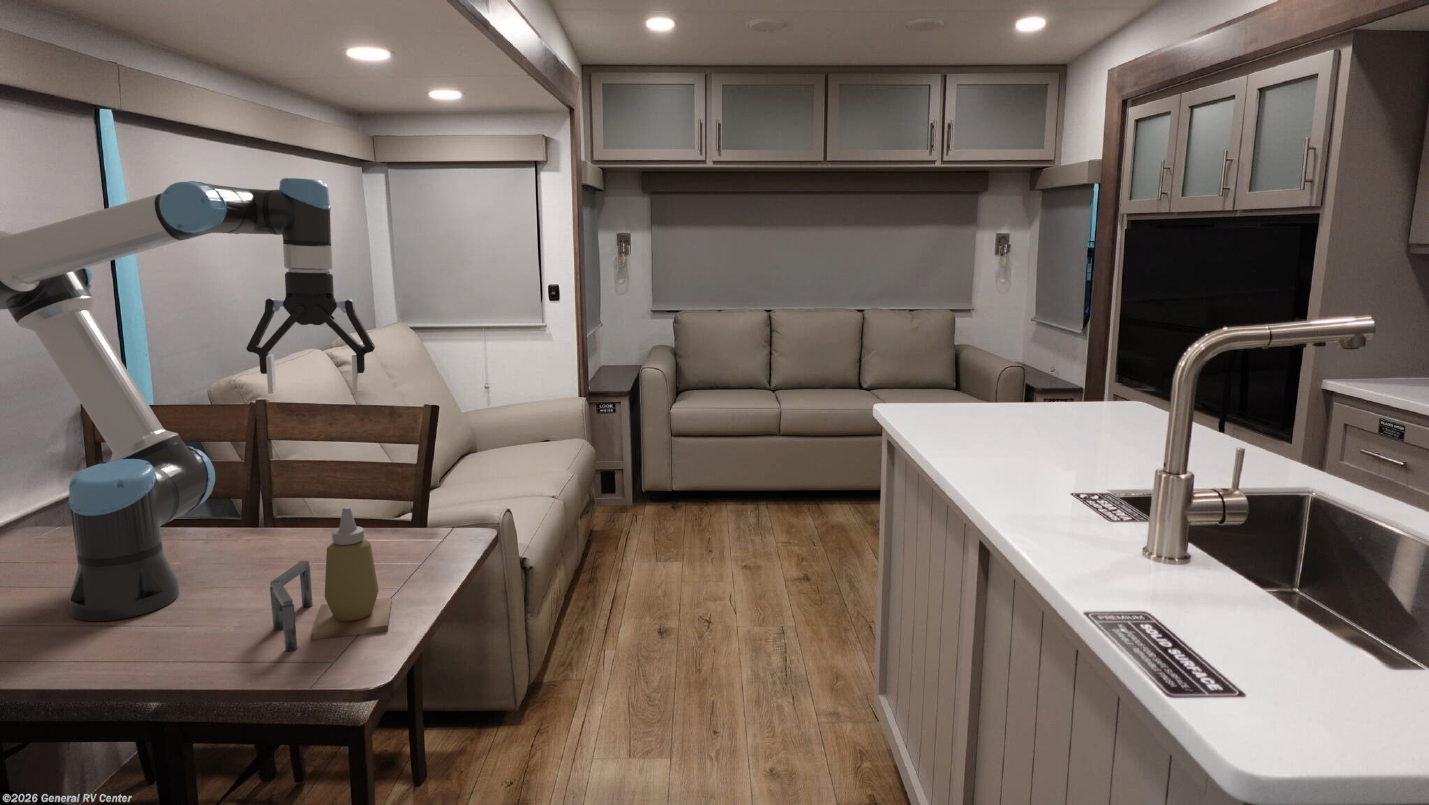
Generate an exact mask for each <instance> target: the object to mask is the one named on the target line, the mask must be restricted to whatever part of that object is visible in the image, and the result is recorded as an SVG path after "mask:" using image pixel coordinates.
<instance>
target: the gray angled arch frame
mask: <svg viewBox="0 0 1429 805" xmlns="http://www.w3.org/2000/svg"><path fill="white" fill-rule="evenodd" d="M309 561H310V560H300V561H299V562H298V563H296V564H294V566H292V567H290V568H289V569H287V570H286V571H284V572H283V573H282V574H280V575H278V577H276V578H274V579H273V580H272V581H270V586H269V592H270V605H271V606H270V607H271V615H272V628H273V629H272V630H273V631H282V630H283V635H284V636H283V637H284V647H285V648H284V650H285V652H287V653H288V652H295V651H296V650H297V649H298V643H297V642H298V641H297V638H298V637H297V628H296V616H295V615H296V613H295V605H294V602H293V598H292V597H291V595H290V594H289V593H288V591H287V589H286V588H285V587H284V586H286V585H287V584H288V583H290V582H292V581H293V580H294V579H295V578H297V577H298V576H299V583H300V598H301V607H302V608H304V609H305V608H311V607H312V606H314V605H313V592H312V590H313V589H312V578H311V577H312V576H311V566H310V562H309Z"/></svg>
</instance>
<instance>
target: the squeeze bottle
mask: <svg viewBox="0 0 1429 805" xmlns="http://www.w3.org/2000/svg"><path fill="white" fill-rule="evenodd" d="M339 523H340V524H339V527H337V528H335V529H333V531H332V532H331V535H332V537H331V538H332V542H331V543H330V544H329V545H328V546H327V548H326V554H325V555H326V557H325V558H326V560H325V561H326V562H325V580H324V599H325V602H326V604H328V606H329V608H330V610H331V612H332V614H333V616H334V618H335V619H337V620H340V621H354V620H359V619H362V618H365V617H367V616H369V615H370V614H371V613H372V611H373V608H374V605H375V601H376V599H378V598H377V597H378V594H379V591H380V590H379V584H378V578H377V573H376V567H375V560H374V554H373V550H372V548H373V547H372V543H371V541H369V540H367V539H365V530H364V528H363V527H361V526H357V525H356V521H355V518H354V516H353V512H352V508H351V507H348V506H347V507H343V508H342V510H341V517H340V522H339Z"/></svg>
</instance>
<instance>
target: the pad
mask: <svg viewBox="0 0 1429 805" xmlns="http://www.w3.org/2000/svg"><path fill="white" fill-rule="evenodd" d="M392 604H393V599H392V597H386V598H385V597H384V598H376V601H375V605H374V608H373V611H372V613H371V614H370V615H369V616H367V617H365V618H362V619H359V620H354V621H340V620H337V619H335V618H334V616H333V614H332V612H331V610H330V608H329V606H328V604H327V603H322V604H320V608H319V610H318V613H317V617H316V620H315V622H314V625H313V628H312V631H311V640H313V641H314V640H322V639H330V638H338V637H340V638H341V637H348V636H349V637H350V636H357V635H366V634H374V633H376V634H377V633H384V632H388V631H389V626H390V620H389V619H391V613H392V612H391V610H392V606H391V605H392ZM390 612H391V613H390Z"/></svg>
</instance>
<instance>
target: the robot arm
mask: <svg viewBox="0 0 1429 805" xmlns="http://www.w3.org/2000/svg"><path fill="white" fill-rule="evenodd" d="M278 188H279V189H259V188H245V187H244V188H242V187H235V186H228V185H227V186H226V185H218V184H211V183H204V182H201V181H194V180H193V181H192V180H191V181H190V180H189V181H178V182H175V183H172V184H170V185H169V186H167V187H166V189H165V190H163V192H161V193H158V194H154V195H150V196H146V197H142V198H139V199H136V200H135V199H134V200H132V201H128V202H124V203H121V204H117V205H114V206H110V207H107V208H104V209H100V210H97V211H93V212H89V213H85V214H82V215H78V216H75V217H71V218H68V219H64V220H61V221H57V222H53V223H50V224H47V225H42V226H38V227H35V228H31V229H28V230H25V231H22V232H17V233H14V234H13V233H11V232H7V231H4V230H3V231H1V230H0V310H8V312H9V313H10V315H11V316H12V318H13V319H14V321H15V323H16V324H17V326H18V327H19V328H22V329H27V330H29V331H33V333H35V334H36V336H37V337H38V339H39V341H40V342H41V343H42V345H43V347H44V348H45V350H46V351H47V353H48V354H49V356H50V357H51V359H52V360H53V362H54V365H56V366H57V368H58V369H59V372H60V373H61V374H62V376H63V377H64V380H66V382H67V384H68V385H69V387H70V388H71V390H72V392H73V393H74V395H75V396H76V398H77V400H78V401H79V402H80V403H81V406H82V407H83V409H84V410H85V412H86V413H87V415H88V416H89V418H90V420H91V421H92V423H93V424H94V425H95V427H96V429H97V430H98V431H99V433H100V435H101V437H102V438H103V439H104V442H105V443H106V444H107V446H108V448H109V449H110V450H111V453H112V454H111V458H110V460H108V461H107V462H105V463H98V464H95V465H92V466H89V467H87V468H84V469H82V470H81V471H79V472H77V473H76V474H75V475H74V476H73V477H72V478H71V480H70V482H69V484H68V489H69V491H68V494H69V497H68V505H69V509H70V515H71V522H72V528H73V534H74V535H73V538H74V543H75V544H74V546H75V551H76V552H75V553H76V560H77V570H76V573H75V576H74V580H73V584H72V588H71V592H70V594H69V599H68V605H69V606H68V607H69V612H70V616H71V617H72V618H74V619H77V620H79V621H84V622H107V621H110V622H111V621H119V620H122V619H123V620H124V619H130V618H134V617H139V616H141V615H145V614H149V613H151V612H154V611H156V610H159V609H162V608H164V607H166V606H168V605H170V604H171V603H172V602H175V600H176V599H178V597H179V595H180V584H179V580H178V578H177V576H176V574H175V572H174V570H173V568H172V566H171V565H170V563H169V561H168V559H167V556H166V555H165V552H164V549H163V542H162V541H163V540H162V531H161V526H163V525H165V524H167V523H169V522H171V521H173V520H175V519H177V518H179V517H181V516H182V515H185V514H188V513H189V512H192V511H194V510H195V509H197V508H198V507H199V506H200V505H201V504H203V503H204V502H205V501H206V500H207V499H208V498H209V497H210V495H211V494H212V492H213V490H214V485H215V482H216V472H215V467H214V465H213V463H212V461H211V460H210V458H209V457H208V456H207V455H206V453H204V452H203V451H202V450H200V449H196V448H194V447H193V446H189V445H186V444H185V442H184V441H183V439H182V437H181V436H180V434H179V433H178V432H174V431H170V430H166V429H165V428H164V427H163V425H162V424H161V422H160V421H159V419H158V417H157V416H156V414H155V413H154V411H153V409H152V408H151V407H150V404H149V403H148V402H147V400H146V398H145V397H144V395H143V393H142V392H141V390H140V388H139V387H138V386H137V384H136V382H135V381H134V380H133V377H132V376H131V374H130V373H129V371H128V369H127V368H126V366H125V364H124V363H123V361H122V360H121V358H120V356H119V355H118V354H117V352H116V350H115V349H114V347H113V346H112V344H111V342H110V341H109V339H108V337H107V336H106V335H105V333H104V331H103V329H102V328H101V327H100V325H99V323H98V321H97V319H96V318H95V317H94V315H93V314H92V312H91V309H92V306H93V303H94V301H95V299H94V297H93V295H92V294H91V292H90V289H91V287H92V283H91V280H92V279H93V276H92V275H93V274H92V270H91V268H90V267H92V266H93V267H94V266H97V265H100V264H103V263H107V262H111V261H114V260H117V259H121V258H125V257H128V256H132V255H135V254H138V253H142V252H145V251H148V250H149V251H150V250H153V249H156V248H160V247H164V246H166V245H170V244H175V243H178V242H181V241H186V240H190V239H194V238H197V237H201V236H204V235H209V234H230V235H231V234H234V235H239V234H240V235H241V234H242V235H243V234H246V235H247V234H248V235H249V234H250V235H276V236H277V235H278V236H279V235H280V236H281V235H282V246H283V247H282V249H283V267H284V269H288V271H286V272H285V273H284V286H285V288H284V289H285V298H284V300H283V299H275V298H274V297H269V298H266V299H265V301H264V302H265V303H264V304H265V305H264V312H263V315H262V316H261V318H260V320H259V322H258V324H257V326H256V328H255V330H254V332H253V334H252V336H251V339H250V340H249V342H248V344H247V345H246V351H247V352H248V353H254V354H257V355H258V358H259V359H258V360H259V371H260V373H261V375H266V378H267V380H266V381H267V382H266V383H267V393H268V394H269V395H270V394H272V395H273V394H275V392H277V388H276V387H277V386H276V372H275V371H276V368H275V354H273V353H272V354H270V353H269V352H270V351H271V350H273V348H274V347H275V346H276V345H277V343H278V342H279V341H280V340H281V339H282V338H283V337H284V336H285V334H287V332H289V330H290V329H291V328H292V327H293V326H294V325H295V324H296V323H297V324H299V325H300V326H307V325H314V326H321V325H323V324H325V325H327V326H328V327H329V328H331V330H333V331H334V332H335V334H336V335H337V336H338V337H339V338H340V339H341V340H342V341H343V342H344V343H345V344H346V345H347V346H348V347H349V348H350V349H351V350H352V351H353V352H354V353H353V354H352V355H351V368H352V369H351V371H352V374H351V375H352V393H359V391H360V382H359V380H360V376H359V375H360V374H364V372H365V370H366V366H365V364H366V363H365V362H366V361H365V355H367V354H370V353H372V352H374V350H375V349H376V346H375V344H374V342H373V340H372V339H371V337H370V335H369V334H368V332H367V330H366V329H365V327H364V325H363V323H362V321H361V319H360V318H359V316H358V314H357V312H356V310H355V303H354V301H353V299H351V298H349V299H347V300H338V301H336V298H335V295H334V294H335V293H334V274H332V272H330V270H332V269H333V267H334V266H333V252H332V237H331V236H332V234H331V233H332V232H331V208H332V207H331V204H330V195H329V187H328V185H327V184H326V183H325V181H323V180H319V179H311V178H298V177H295V178H294V177H290V178H289V177H286V178H282V179H280V181H279V186H278ZM281 307H283V308H284V310H285V311H286V312H287V313H288V314H289V316H288V317H287V318H286V320H284V321H283V323H282V324H281V325H280V327H279V328H277V330H276V331H275V332H274V333H273V334H272V335H271V336H270V338H269V339H268V340H267V341H266V342H265V343H264V344H263V345H262V346H261V345H260V343H261V341H262V339H263V337H264V335H265V333H266V331H267V329H268V327H269V326H270V323H271V321H272V319H273V317H274V315H275V313H276V312H279V311H280V308H281ZM337 308H338V309H340V310H341V312H342V313H346V315H347V318H348V320H349V321H350V323H351V325H352V326H353V329H354V331H355V332H356V333H357V335H358V337H359V338H360V340H361V343H362V345H364V346H362V345H361V344H360V343H359V342H358V341H357V340H356V338H354V337H353V335H351V334H350V333H349V332H348V331H347V330H346V329H345V327H343V325H342V324H341V323H340V322H339V321H338V320H337V319H336V317H334V316H333V314H334V312H335V311H336V309H337Z"/></svg>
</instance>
